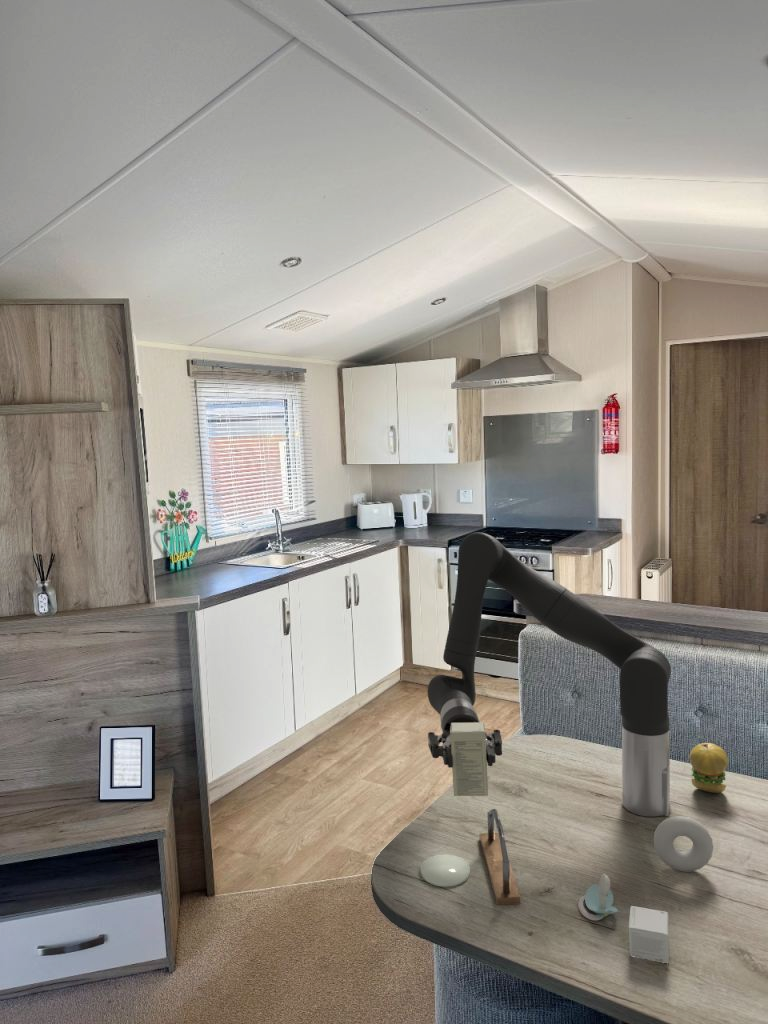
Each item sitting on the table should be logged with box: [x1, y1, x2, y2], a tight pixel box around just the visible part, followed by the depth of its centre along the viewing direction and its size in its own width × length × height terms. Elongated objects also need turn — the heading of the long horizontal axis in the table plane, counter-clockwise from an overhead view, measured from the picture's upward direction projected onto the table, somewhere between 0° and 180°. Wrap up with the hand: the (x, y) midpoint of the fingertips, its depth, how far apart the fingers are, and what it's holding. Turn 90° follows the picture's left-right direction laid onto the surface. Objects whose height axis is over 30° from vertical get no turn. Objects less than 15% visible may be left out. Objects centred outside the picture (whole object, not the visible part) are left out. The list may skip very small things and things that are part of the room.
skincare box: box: [450, 721, 489, 797], centre depth 133 cm, size 6×4×12 cm
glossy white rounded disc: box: [420, 854, 471, 888], centre depth 135 cm, size 9×9×1 cm
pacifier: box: [577, 873, 619, 921], centre depth 123 cm, size 7×6×6 cm
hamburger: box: [689, 742, 729, 794], centre depth 158 cm, size 8×7×12 cm
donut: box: [653, 815, 714, 873], centre depth 132 cm, size 10×3×10 cm, turn 74°
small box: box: [628, 905, 670, 965], centre depth 113 cm, size 6×6×5 cm
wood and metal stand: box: [478, 808, 522, 906], centre depth 135 cm, size 20×4×10 cm, turn 1°
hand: (470, 761), depth 131 cm, fingers closed on skincare box, 6 cm apart
